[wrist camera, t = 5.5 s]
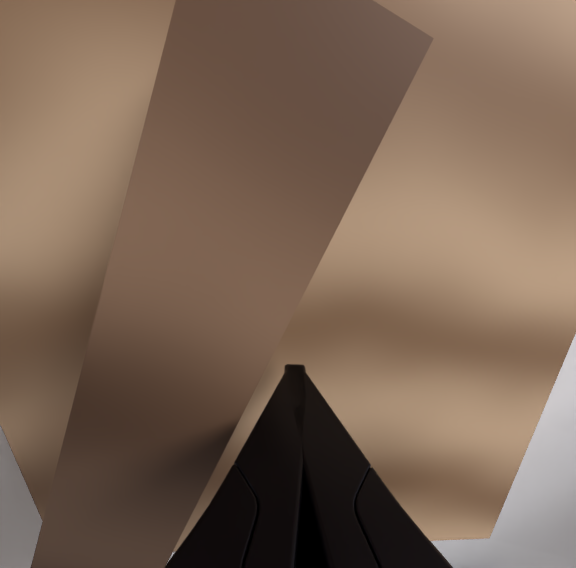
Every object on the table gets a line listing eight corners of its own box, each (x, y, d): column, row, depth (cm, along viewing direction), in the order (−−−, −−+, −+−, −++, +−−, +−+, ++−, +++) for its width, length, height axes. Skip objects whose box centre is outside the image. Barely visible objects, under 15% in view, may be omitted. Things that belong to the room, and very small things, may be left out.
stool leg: (150, 555, 13) (117, 667, 10) (66, 538, 12) (4, 654, 9) (371, 86, 7) (440, 42, 4) (228, 6, 6) (193, -112, 3)
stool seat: (463, 492, 16) (533, 615, 11) (84, 505, 15) (11, 644, 11) (647, -49, 8) (1060, -268, 4) (-121, -88, 7) (-683, -429, 3)
